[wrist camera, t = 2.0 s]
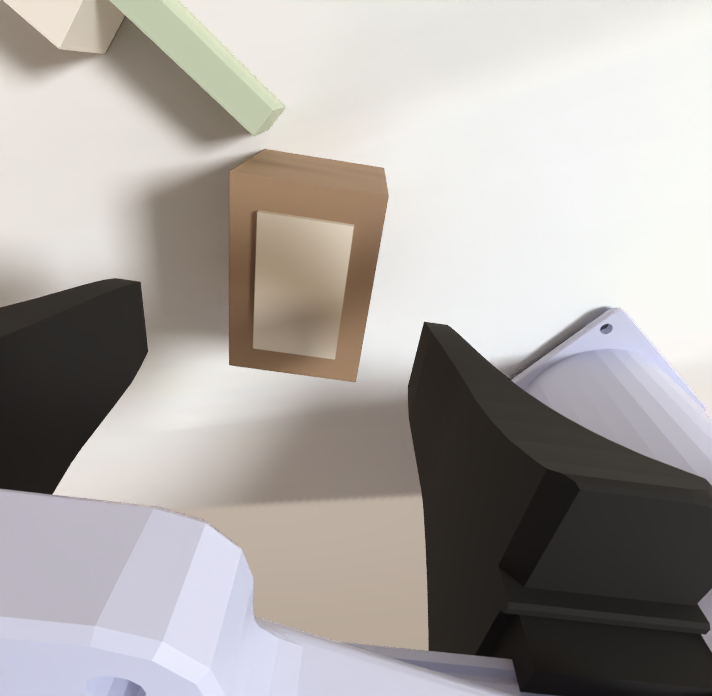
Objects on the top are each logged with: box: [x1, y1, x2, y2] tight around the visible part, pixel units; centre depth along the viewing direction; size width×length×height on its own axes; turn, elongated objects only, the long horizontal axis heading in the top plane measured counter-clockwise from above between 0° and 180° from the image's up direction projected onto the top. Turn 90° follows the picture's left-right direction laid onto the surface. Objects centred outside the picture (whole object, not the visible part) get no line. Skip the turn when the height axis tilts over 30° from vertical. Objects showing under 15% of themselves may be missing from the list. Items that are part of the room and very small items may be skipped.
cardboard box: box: [229, 149, 388, 382], centre depth 16 cm, size 6×4×5 cm
